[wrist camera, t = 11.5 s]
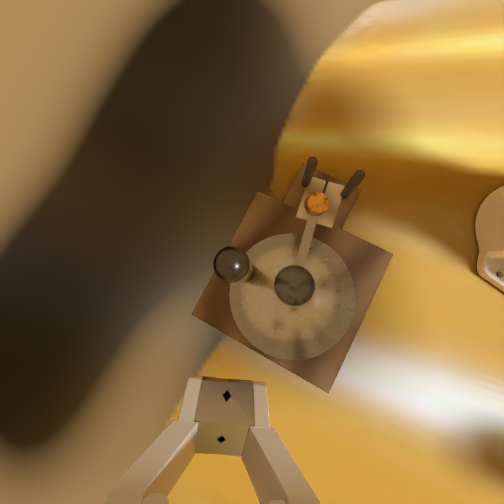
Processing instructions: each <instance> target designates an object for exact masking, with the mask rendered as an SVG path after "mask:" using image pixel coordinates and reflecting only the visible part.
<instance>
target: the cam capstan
mask: <svg viewBox="0 0 504 504" xmlns="http://www.w3.org/2000/svg"><path fill="white" fill-rule="evenodd" d="M304 208H305V210H306V212H307V213H308V218H307V221H306V225H305V229H304V232H303V235H301V234H292V233H291V234H280V235H275V236H272V237H269V238H267V239H264V240H262V241H260V242H259V243H257V244H256V245H254V246H253V247H252V248H251V249H249V250H248V251H247V252H245V251H244V250H242V249H241V248H239V247H235V246H229V247H225V248H223V249H221V250H220V251H219V252H218V253H217V255H216V257H215V259H214V270H215V273H216V274H217V276H218V277H219V278H220V279H222V280H223V281H226V282H230V292H229V296H230V307H231V311H232V315H233V318H234V320H235V322H236V325H237V326H238V328H239V330H240V331H241V333H242V334H243V335H244V337H245V338H246V339H247V340H248V341H249V342H250V343H251V344H252V345H253V346H255V347H256V348H257V349H259V350H260V351H262V352H264V353H265V354H268V355H270V356H273V357H276V358H279V359H284V360H304V359H309V358H313V357H316V356H318V355H320V354H323V353H324V352H326V351H328V350H329V349H331V348H332V347H333V346H334V345H335V344H337V343H338V341H339V340H340V339H341V338H342V337H343V336H344V334H345V333H346V331H347V330H348V327H349V325H350V323H351V321H352V318H353V315H354V310H355V298H356V296H355V287H354V283H353V279H352V277H351V274H350V271H349V270H348V268H347V266H346V264H345V263H344V261H343V260H342V258H341V257H340V256H339V255H338V254H337V253H336V252H335V251H334V250H333V249H332V248H331V247H329V246H328V245H326V244H325V243H323V242H322V241H319V240H317V239H315V238H313V233H314V229H315V226H316V222H317V219H318V216H321V215H323V214H324V213H326V212H327V210H328V208H329V199H328V197H327V196H326V195H325V194H324V193H322V192H313V193H311V194H309V195H308V196H307V197H306V199H305V202H304Z"/></svg>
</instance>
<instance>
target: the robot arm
mask: <svg viewBox="0 0 504 504" xmlns="http://www.w3.org/2000/svg"><path fill="white" fill-rule="evenodd" d="M475 231H476V237H477V241H478V245H479V255H478V260H477V271H478V273H479V275H480V276H481V277H483V278H484V279H486V280H487V281H489V282H490V283H491V284H493V285H494V286H496V287H497V288H499V289H500V290H501V291H503V292H504V186H502V187H500V188H498V189H496V190H495V191H493V192H492V193H491V194H489V195H488V196H487V197H486V198H485V200H484V201H483V202H482V204H481V206H480V208H479V210H478V213H477V216H476V222H475ZM496 273H498V277H497V275H496ZM195 453H207V454H223V455H233V456H242V460H243V462H244V465H245V467H246V470H247V472H248V475H249V477H250V480H251V482H252V485H253V487H254V489H255V492H256V494H257V497H258V499H259V502H260V504H320V502H319V500H318V499H317V497H316V495H315V494H314V492H313V490H312V489H311V487H310V486H309V484H308V482H307V481H306V479H305V478H304V476H303V474H302V473H301V471H300V470H299V468H298V466H297V465H296V463H295V462H294V460H293V458H292V457H291V455H290V453H289V452H288V450H287V449H286V447H285V445H284V444H283V442H282V441H281V439H280V437H279V436H278V434H277V433H276V431H275V429H274V428H270V423H269V410H268V398H267V386H266V383H265V382H256V381H249V380H237V379H222V378H214V377H205V376H197V375H190V376H189V378H188V381H187V385H186V389H185V393H184V396H183V400H182V404H181V408H180V412H179V416H178V420H173V421H172V422H171V423H170V424H169V425H168V426H167V427H166V428H165V430H164V431H163V432H162V433H161V434H160V435H159V436H158V437H157V438H156V440H155V441H154V442H153V443H152V444H151V445H150V446H149V447H148V448H147V450H146V451H145V452H144V453H143V454H142V455H141V456H140V457H139V458H138V460H136V462H135V463H134V464H133V465H132V466H131V467H130V468H129V469H128V471H127V472H126V473H125V474H124V475H123V476H122V477H121V478H120V479H119V481H118V482H117V483H116V484H115V485H114V486H113V487H112V488H111V490H110V493H109V495H108V498H107V500H106V503H105V504H168V502H169V500H168V498H167V496H168V494H169V493H170V491H171V490H172V488H173V487H174V485H175V484H176V482H177V481H178V479H179V478H180V476H181V475H182V473H183V472H184V470H185V469H186V467H187V466H188V464H189V462H190V461H191V459H192V458H193V456H194V454H195Z"/></svg>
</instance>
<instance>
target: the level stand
mask: <svg viewBox="0 0 504 504" xmlns="http://www.w3.org/2000/svg"><path fill="white" fill-rule="evenodd" d="M317 163H318V160H317V159H316V158H315V157H310V158H309V159H308V161H307V165H302V166H301V168H300V170H299V172H298V174H297V176H296V178H295V180H294V182H293V184H292V185H291V187H290V189H289V191H288V193H287V195H286V197H285V199H284V201H283V202H281V201H279V200H277V199H274V198H272V197H270V196H268V195H266V194H264V193H261V192H259V191H258V192H257V194H256V196H255V198H254V199H253V201H252V203H251V205H250V207H249V209H248V211H247V212H246V214H245V216H244V218H243V220H242V222H241V224H240V225H239V227H238V229H237V231H236V233H235V235H234V237H233V238H232V240H231V242H230V244H229V246H235V247H239V248H241V249H242V250H244V251H245V252H247V251H248V250H249V249H251V248H252V247H253V246H254V245H256V244H257V243H259V242H260V241H262V240H264V239H267V238H269V237H272V236H275V235H280V234H291V233H292V234H301V235H303V232H304V229H305V225H306V221H307V218H308V213H307V212H306V210H305V208H304V202H305V199H306V197H307V196H308V195H309V194H311V193H313V192H322V193H324V194H325V195H326V196H327V197H328V199H329V208H328V210H327V212H326V213H324V214H323V215H321V216H318V219H317V222H316V226H315V229H314V233H313V238H315V239H317V240H319V241H322V242H323V243H325V244H326V245H328V246H329V247H331V248H332V249H333V250H334V251H335V252H336V253H337V254H338V255H339V256H340V257H341V258H342V260H343V261H344V263H345V264H346V266H347V268H348V270H349V271H350V274H351V277H352V279H353V283H354V287H355V296H356V298H355V310H354V315H353V318H352V321H351V323H350V325H349V327H348V330H347V331H346V333H345V334H344V336H343V337H342V338H341V339H340V340H339V341H338V343H337V344H335V345H334V346H333V347H332V348H331V349H329V350H328V351H326V352H324V353H323V354H320V355H318V356H316V357H313V358H309V359H304V360H284V359H279V358H276V357H273V356H270V355H268V354H265V353H264V352H262V351H260V350H259V349H257V348H256V347H255V346H253V345H252V344H251V343H250V342H249V341H248V340H247V339H246V338H245V337H244V335H243V334H242V333H241V331H240V330H239V328H238V326H237V325H236V322H235V320H234V318H233V315H232V311H231V307H230V296H229V292H230V282H226V281H223V280H222V279H220V278H219V277H218V276H217V274H216V273H215V272H214V274H213V276H212V277H211V279H210V281H209V283H208V285H207V287H206V288H205V290H204V292H203V294H202V296H201V298H200V300H199V301H198V303H197V305H196V307H195V309H194V311H193V313H192V315H194V316H196V317H197V318H199V319H201V320H202V321H204V322H206V323H208V324H209V325H211V326H213V327H214V328H216V329H218V330H220V331H221V332H223V333H225V334H227V335H228V336H230V337H232V338H233V339H235V340H237V341H239V342H240V343H242V344H244V345H246V346H247V347H249V348H251V349H253V350H254V351H256V352H258V353H259V354H261V355H263V356H265V357H266V358H268V359H270V360H272V361H273V362H275V363H277V364H278V365H280V366H282V367H284V368H285V369H287V370H289V371H291V372H292V373H294V374H296V375H298V376H299V377H301V378H303V379H304V380H306V381H308V382H310V383H311V384H313V385H315V386H317V387H318V388H320V389H322V390H323V391H325V392H327V393H329V391H330V389H331V387H332V385H333V383H334V380H335V378H336V376H337V374H338V372H339V370H340V368H341V365H342V363H343V361H344V359H345V357H346V355H347V352H348V350H349V348H350V346H351V344H352V342H353V340H354V337H355V335H356V333H357V331H358V329H359V327H360V325H361V322H362V320H363V318H364V316H365V314H366V312H367V309H368V307H369V305H370V303H371V301H372V299H373V297H374V294H375V292H376V290H377V288H378V286H379V284H380V281H381V279H382V277H383V275H384V273H385V271H386V269H387V266H388V264H389V262H390V260H391V258H392V256H393V254H392V253H390V252H388V251H386V250H384V249H382V248H379V247H377V246H375V245H373V244H371V243H369V242H367V241H364V240H362V239H360V238H358V237H356V236H354V235H352V234H349V233H347V232H345V231H343V230H341V229H342V227H343V225H344V222H345V220H346V218H347V216H348V214H349V212H350V210H351V208H352V206H353V204H354V202H355V200H356V198H357V196H358V194H359V192H360V190H361V189H359V188H356V187H357V186H358V184H359V183H360V182H361V181H362V180H363V179H364V177H365V173H364V172H363V171H362V170H358V171H356V172H355V173H354V175H353V176H352V177H351V179H350V180H349V182H348V183H345V182H343V181H340V180H338V179H336V178H333V177H331V176H329V175H326V174H324V173H322V172H320V171H317V170H315V168H316V166H317ZM229 246H228V247H229Z"/></svg>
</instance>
